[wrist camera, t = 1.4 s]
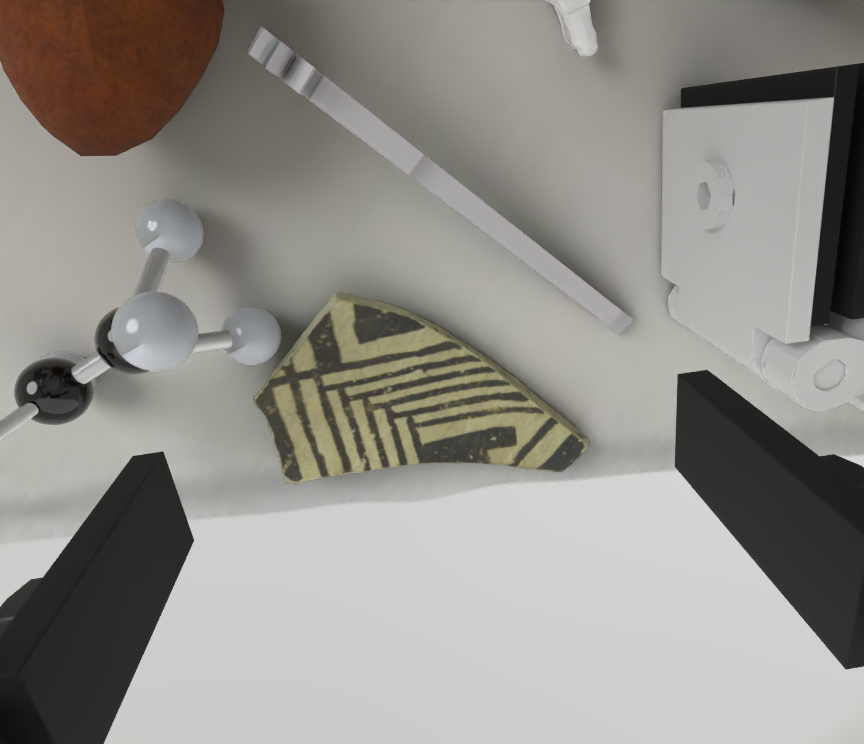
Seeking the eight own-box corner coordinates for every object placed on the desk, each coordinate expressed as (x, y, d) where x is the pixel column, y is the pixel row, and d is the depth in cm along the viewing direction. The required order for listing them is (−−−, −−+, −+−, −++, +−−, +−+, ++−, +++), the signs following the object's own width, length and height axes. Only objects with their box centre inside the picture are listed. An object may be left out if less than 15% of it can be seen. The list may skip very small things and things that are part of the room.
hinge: (780, 347, 31) (943, 441, 22) (679, 383, 32) (798, 490, 23) (736, 66, 26) (925, 34, 17) (617, 113, 27) (738, 107, 17)
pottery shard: (319, 261, 28) (318, 271, 26) (598, 402, 33) (613, 418, 31) (225, 449, 31) (219, 470, 29) (496, 552, 36) (504, 576, 34)
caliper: (262, 61, 25) (224, 41, 19) (276, 37, 25) (242, 9, 19) (616, 333, 31) (670, 380, 25) (631, 315, 30) (689, 360, 25)
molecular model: (296, 335, 29) (250, 439, 20) (103, 455, 31) (-30, 607, 21) (184, 183, 27) (64, 216, 17) (-23, 325, 28) (-243, 431, 18)
